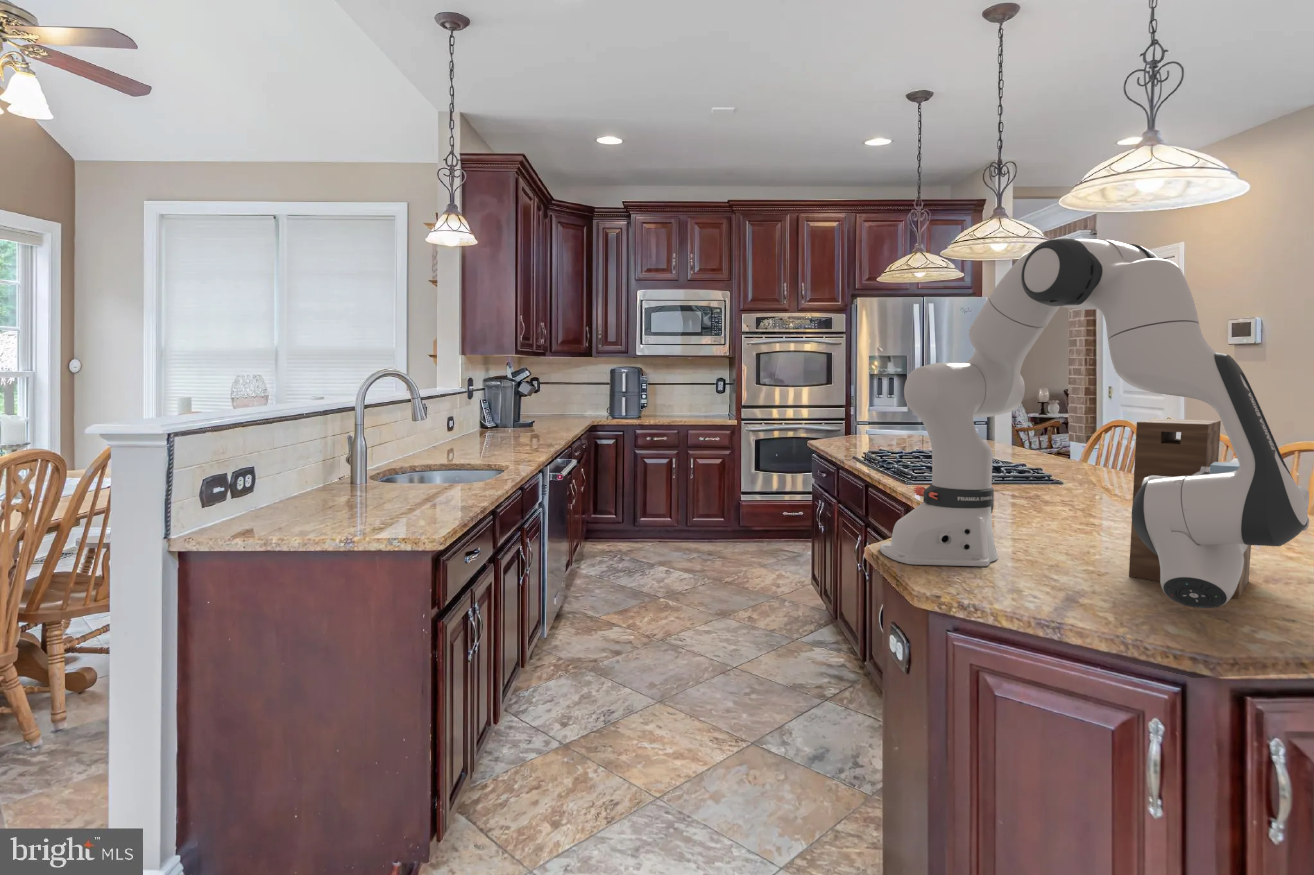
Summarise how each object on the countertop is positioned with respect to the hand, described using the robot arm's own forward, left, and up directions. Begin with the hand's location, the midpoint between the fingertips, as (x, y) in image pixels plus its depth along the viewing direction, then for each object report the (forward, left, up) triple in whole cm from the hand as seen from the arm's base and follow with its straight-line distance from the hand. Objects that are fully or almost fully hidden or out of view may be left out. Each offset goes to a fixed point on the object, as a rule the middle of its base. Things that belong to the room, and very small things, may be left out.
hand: (1226, 471), depth 112 cm
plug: (+5, +4, -2) cm, 7 cm away
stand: (+3, +10, -21) cm, 23 cm away
